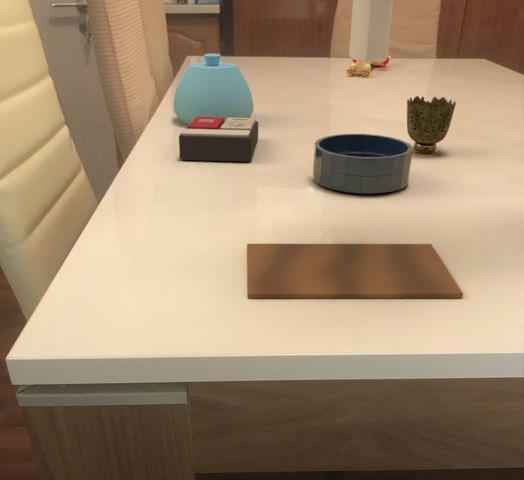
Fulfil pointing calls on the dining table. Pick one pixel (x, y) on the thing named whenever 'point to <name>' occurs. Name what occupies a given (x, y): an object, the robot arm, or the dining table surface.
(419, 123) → the cup
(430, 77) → the dining table surface
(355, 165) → the bowl
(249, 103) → the sugar bowl
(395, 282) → the brown wooden board
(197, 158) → the dark flat box
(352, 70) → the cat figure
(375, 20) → the eye dropper bottle
